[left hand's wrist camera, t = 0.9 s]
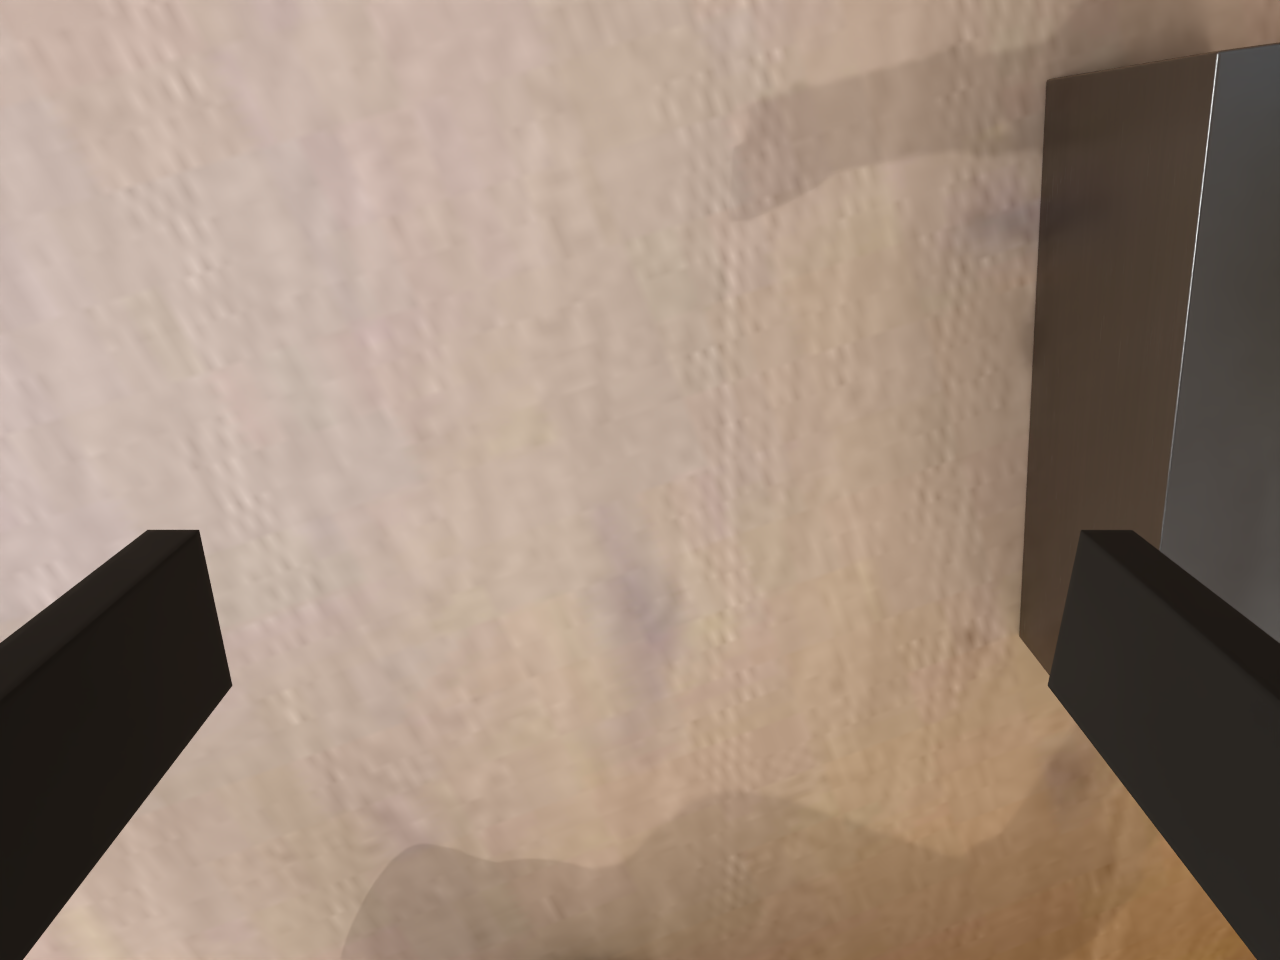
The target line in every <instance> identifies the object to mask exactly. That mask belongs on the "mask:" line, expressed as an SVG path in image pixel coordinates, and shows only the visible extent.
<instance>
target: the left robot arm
mask: <svg viewBox="0 0 1280 960" xmlns="http://www.w3.org/2000/svg"><path fill="white" fill-rule="evenodd" d="M231 687H232V682H231V677H230V672H229V668H228V663H227V658H226V654H225V649H224V644H223V640H222V635H221V630H220V626H219V621H218V616H217V612H216V607H215V602H214V597H213V593H212V588H211V583H210V579H209V574H208V569H207V565H206V560H205V555H204V551H203V546H202V541H201V537H200V532H199V530H147V531H146V532H144V533H143V534H142V535H140V536H139V537H138V538H137V539H135V540H134V541H133V542H131V543H130V544H129V545H127V546H126V547H125V548H123V549H122V550H121V551H120V552H118V553H117V554H116V555H114V556H113V557H112V558H110V559H109V560H108V561H107V562H105V563H104V564H103V565H101V566H100V567H99V568H97V569H96V570H95V571H94V572H92V573H91V574H90V575H88V576H87V577H86V578H84V579H83V580H82V581H81V582H79V583H78V584H77V585H75V586H74V587H73V588H71V589H70V590H69V591H68V592H66V593H65V594H64V595H62V596H61V597H60V598H58V599H57V600H56V601H55V602H53V603H52V604H51V605H49V606H48V607H47V608H45V609H44V610H43V611H41V612H40V613H39V614H38V615H36V616H35V617H34V618H32V619H31V620H30V621H28V622H27V623H26V624H25V625H23V626H22V627H21V628H19V629H18V630H17V631H15V632H14V633H13V634H12V635H10V636H9V637H8V638H6V639H5V640H4V641H2V642H1V643H0V960H23V959H24V958H25V956H26V955H27V954H28V952H29V951H30V950H31V948H32V947H33V946H34V945H35V943H36V942H37V941H38V939H39V938H40V937H41V935H42V934H43V933H44V931H45V930H46V929H47V928H48V926H49V925H50V924H51V922H52V921H53V920H54V918H55V917H56V916H57V914H58V913H59V912H60V911H61V909H62V908H63V907H64V905H65V904H66V903H67V901H68V900H69V899H70V897H71V896H72V895H73V893H74V892H75V891H76V890H77V888H78V887H79V886H80V884H81V883H82V882H83V880H84V879H85V878H86V876H87V875H88V874H89V873H90V871H91V870H92V869H93V867H94V866H95V865H96V863H97V862H98V861H99V859H100V858H101V857H102V856H103V854H104V853H105V852H106V850H107V849H108V848H109V846H110V845H111V844H112V842H113V841H114V840H115V839H116V837H117V836H118V835H119V833H120V832H121V831H122V829H123V828H124V827H125V825H126V824H127V823H128V821H129V820H130V819H131V818H132V816H133V815H134V814H135V812H136V811H137V810H138V808H139V807H140V806H141V804H142V803H143V802H144V801H145V799H146V798H147V797H148V795H149V794H150V793H151V791H152V790H153V789H154V787H155V786H156V785H157V784H158V782H159V781H160V780H161V778H162V777H163V776H164V774H165V773H166V772H167V770H168V769H169V768H170V766H171V765H172V764H173V763H174V761H175V760H176V759H177V757H178V756H179V755H180V753H181V752H182V751H183V749H184V748H185V747H186V746H187V744H188V743H189V742H190V740H191V739H192V738H193V736H194V735H195V734H196V732H197V731H198V730H199V729H200V727H201V726H202V725H203V723H204V722H205V721H206V719H207V718H208V717H209V715H210V714H211V713H212V711H213V710H214V709H215V708H216V706H217V705H218V704H219V702H220V701H221V700H222V698H223V697H224V696H225V694H226V693H227V692H228V691H229V689H230V688H231ZM1048 687H1049V688H1050V689H1051V691H1052V692H1053V693H1054V694H1055V696H1056V697H1057V698H1058V700H1059V701H1060V702H1061V704H1062V705H1063V706H1064V708H1065V709H1066V710H1067V711H1068V713H1069V714H1070V715H1071V717H1072V718H1073V719H1074V721H1075V722H1076V723H1077V725H1078V726H1079V727H1080V729H1081V730H1082V731H1083V732H1084V734H1085V735H1086V736H1087V738H1088V739H1089V740H1090V742H1091V743H1092V744H1093V746H1094V747H1095V748H1096V749H1097V751H1098V752H1099V753H1100V755H1101V756H1102V757H1103V759H1104V760H1105V761H1106V763H1107V764H1108V765H1109V766H1110V768H1111V769H1112V770H1113V772H1114V773H1115V774H1116V776H1117V777H1118V778H1119V780H1120V781H1121V782H1122V784H1123V785H1124V786H1125V787H1126V789H1127V790H1128V791H1129V793H1130V794H1131V795H1132V797H1133V798H1134V799H1135V801H1136V802H1137V803H1138V804H1139V806H1140V807H1141V808H1142V810H1143V811H1144V812H1145V814H1146V815H1147V816H1148V818H1149V819H1150V820H1151V821H1152V823H1153V824H1154V825H1155V827H1156V828H1157V829H1158V831H1159V832H1160V833H1161V835H1162V836H1163V837H1164V838H1165V840H1166V841H1167V842H1168V844H1169V845H1170V846H1171V848H1172V849H1173V850H1174V852H1175V853H1176V854H1177V856H1178V857H1179V858H1180V859H1181V861H1182V862H1183V863H1184V865H1185V866H1186V867H1187V869H1188V870H1189V871H1190V873H1191V874H1192V875H1193V876H1194V878H1195V879H1196V880H1197V882H1198V883H1199V884H1200V886H1201V887H1202V888H1203V890H1204V891H1205V892H1206V893H1207V895H1208V896H1209V897H1210V899H1211V900H1212V901H1213V903H1214V904H1215V905H1216V907H1217V908H1218V909H1219V911H1220V912H1221V913H1222V914H1223V916H1224V917H1225V918H1226V920H1227V921H1228V922H1229V924H1230V925H1231V926H1232V928H1233V929H1234V930H1235V931H1236V933H1237V934H1238V935H1239V937H1240V938H1241V939H1242V941H1243V942H1244V943H1245V945H1246V946H1247V947H1248V948H1249V950H1250V951H1251V952H1252V954H1253V955H1254V956H1255V958H1256V959H1257V960H1280V643H1279V642H1278V641H1276V640H1275V639H1274V638H1272V637H1271V636H1270V635H1268V634H1267V633H1266V632H1265V631H1263V630H1262V629H1261V628H1259V627H1258V626H1257V625H1255V624H1254V623H1253V622H1252V621H1250V620H1249V619H1248V618H1246V617H1245V616H1244V615H1242V614H1241V613H1240V612H1239V611H1237V610H1236V609H1235V608H1233V607H1232V606H1231V605H1229V604H1228V603H1227V602H1225V601H1224V600H1223V599H1222V598H1220V597H1219V596H1218V595H1216V594H1215V593H1214V592H1212V591H1211V590H1210V589H1209V588H1207V587H1206V586H1205V585H1203V584H1202V583H1201V582H1199V581H1198V580H1197V579H1196V578H1194V577H1193V576H1192V575H1190V574H1189V573H1188V572H1186V571H1185V570H1184V569H1183V568H1181V567H1180V566H1179V565H1177V564H1176V563H1175V562H1173V561H1172V560H1171V559H1170V558H1168V557H1167V556H1166V555H1164V554H1163V553H1162V552H1160V551H1159V550H1158V549H1157V548H1155V547H1154V546H1153V545H1151V544H1150V543H1149V542H1147V541H1146V540H1145V539H1143V538H1142V537H1141V536H1140V535H1138V534H1137V533H1136V532H1134V531H1133V530H1081V532H1080V537H1079V541H1078V546H1077V551H1076V555H1075V560H1074V565H1073V569H1072V574H1071V579H1070V583H1069V588H1068V593H1067V597H1066V602H1065V607H1064V612H1063V616H1062V621H1061V626H1060V630H1059V635H1058V640H1057V644H1056V649H1055V654H1054V658H1053V663H1052V668H1051V672H1050V677H1049V682H1048Z"/></svg>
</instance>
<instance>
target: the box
mask: <svg viewBox="0 0 1280 960" xmlns="http://www.w3.org/2000/svg"><path fill="white" fill-rule="evenodd" d="M1081 530H1133V531H1134V532H1136V533H1137V534H1138V535H1140V536H1141V537H1142V538H1143V539H1145V540H1146V541H1147V542H1149V543H1150V544H1151V545H1153V546H1154V547H1155V548H1157V549H1158V550H1159V551H1160V552H1162V553H1163V554H1164V555H1166V556H1167V557H1168V558H1170V559H1171V560H1172V561H1173V562H1175V563H1176V564H1177V565H1179V566H1180V567H1181V568H1183V569H1184V570H1185V571H1186V572H1188V573H1189V574H1190V575H1192V576H1193V577H1194V578H1196V579H1197V580H1198V581H1199V582H1201V583H1202V584H1203V585H1205V586H1206V587H1207V588H1209V589H1210V590H1211V591H1212V592H1214V593H1215V594H1216V595H1218V596H1219V597H1220V598H1222V599H1223V600H1224V601H1225V602H1227V603H1228V604H1229V605H1231V606H1232V607H1233V608H1235V609H1236V610H1237V611H1239V612H1240V613H1241V614H1242V615H1244V616H1245V617H1246V618H1248V619H1249V620H1250V621H1252V622H1253V623H1254V624H1255V625H1257V626H1258V627H1259V628H1261V629H1262V630H1263V631H1265V632H1266V633H1267V634H1268V635H1270V636H1271V637H1272V638H1274V639H1275V640H1276V641H1278V642H1279V643H1280V43H1273V44H1266V45H1258V46H1251V47H1244V48H1236V49H1229V50H1222V51H1215V52H1209V53H1203V54H1197V55H1192V56H1186V57H1180V58H1174V59H1168V60H1162V61H1156V62H1150V63H1144V64H1138V65H1132V66H1126V67H1120V68H1114V69H1108V70H1102V71H1096V72H1090V73H1084V74H1078V75H1072V76H1066V77H1060V78H1054V79H1049V80H1047V86H1046V107H1045V127H1044V147H1043V167H1042V188H1041V208H1040V228H1039V249H1038V269H1037V289H1036V309H1035V330H1034V350H1033V370H1032V390H1031V411H1030V431H1029V451H1028V472H1027V492H1026V512H1025V532H1024V553H1023V573H1022V593H1021V614H1020V634H1019V636H1020V638H1021V639H1022V641H1023V642H1024V643H1025V644H1026V646H1027V647H1028V648H1029V650H1030V651H1031V652H1032V653H1033V655H1034V656H1035V657H1036V659H1037V660H1038V661H1039V663H1040V664H1041V665H1042V666H1043V668H1044V669H1045V670H1046V672H1047V673H1048V674H1049V675H1050V672H1051V668H1052V663H1053V658H1054V654H1055V649H1056V644H1057V640H1058V635H1059V630H1060V626H1061V621H1062V616H1063V612H1064V607H1065V602H1066V597H1067V593H1068V588H1069V583H1070V579H1071V574H1072V569H1073V565H1074V560H1075V555H1076V551H1077V546H1078V541H1079V537H1080V532H1081Z"/></svg>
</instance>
